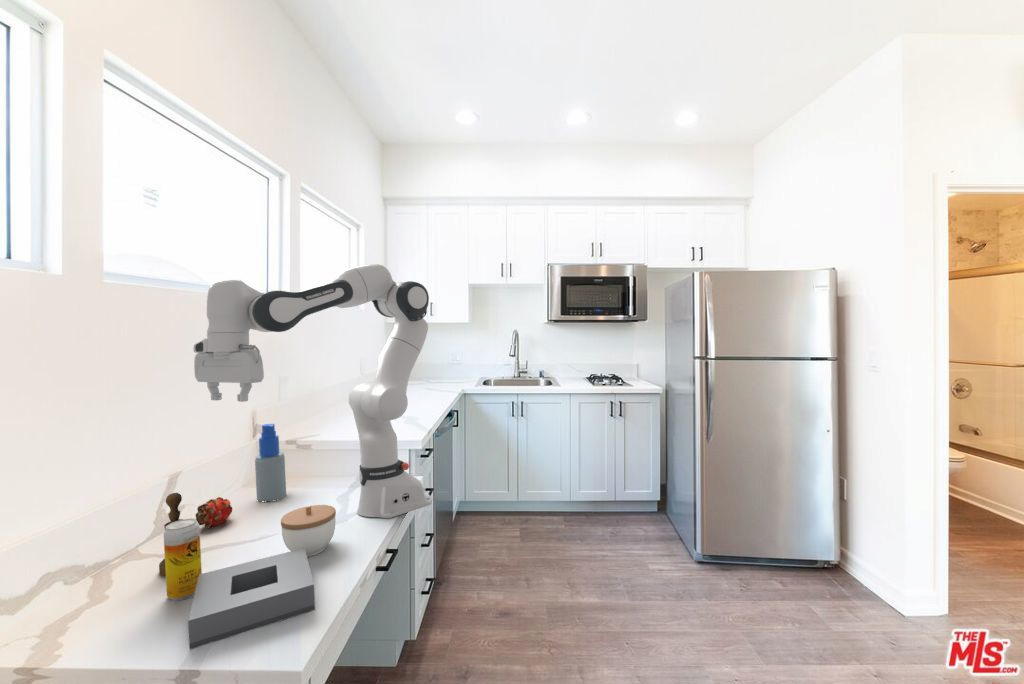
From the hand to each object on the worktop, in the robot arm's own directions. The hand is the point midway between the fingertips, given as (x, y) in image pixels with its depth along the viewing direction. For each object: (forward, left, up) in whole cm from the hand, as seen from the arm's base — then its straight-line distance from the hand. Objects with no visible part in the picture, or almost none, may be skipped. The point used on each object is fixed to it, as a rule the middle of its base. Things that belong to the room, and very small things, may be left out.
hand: (229, 400), depth 110 cm
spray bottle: (-9, -42, -39) cm, 58 cm away
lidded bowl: (-16, +8, -39) cm, 43 cm away
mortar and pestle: (+12, 0, -39) cm, 41 cm away
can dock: (-4, +27, -39) cm, 47 cm away
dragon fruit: (+6, -26, -39) cm, 47 cm away
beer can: (+9, +14, -39) cm, 42 cm away
